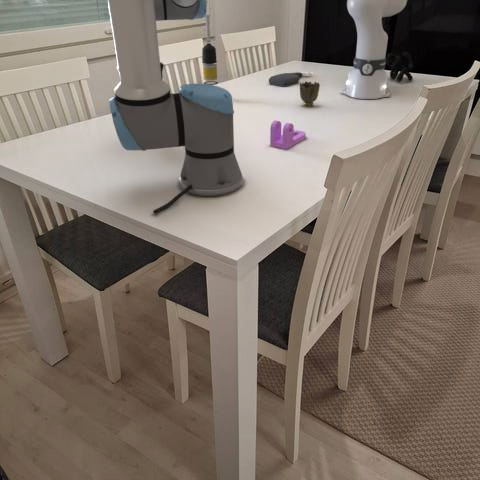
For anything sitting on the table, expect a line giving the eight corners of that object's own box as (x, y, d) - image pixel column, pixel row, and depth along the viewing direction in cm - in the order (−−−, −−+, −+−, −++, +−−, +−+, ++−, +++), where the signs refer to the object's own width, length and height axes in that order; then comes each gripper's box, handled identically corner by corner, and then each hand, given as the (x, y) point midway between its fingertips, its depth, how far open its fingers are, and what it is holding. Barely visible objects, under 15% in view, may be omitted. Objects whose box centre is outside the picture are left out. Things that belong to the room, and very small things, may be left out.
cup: (295, 106, 166) (296, 84, 162) (302, 102, 172) (303, 80, 168) (314, 109, 163) (316, 86, 159) (321, 104, 169) (322, 82, 165)
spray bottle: (266, 83, 198) (296, 74, 214) (286, 87, 192) (316, 77, 208) (266, 76, 197) (297, 68, 213) (287, 80, 191) (316, 71, 207)
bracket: (286, 149, 129) (287, 125, 125) (270, 145, 132) (270, 122, 128) (308, 136, 138) (309, 114, 134) (292, 133, 141) (294, 111, 137)
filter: (220, 99, 177) (217, 15, 161) (206, 100, 176) (202, 16, 160) (215, 96, 182) (212, 14, 166) (202, 97, 180) (197, 14, 164)
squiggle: (400, 92, 202) (376, 71, 205) (417, 76, 202) (392, 56, 205) (405, 81, 191) (380, 59, 194) (423, 64, 191) (397, 42, 194)
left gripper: (163, 36, 131) (171, 115, 144) (103, 41, 125) (117, 123, 138) (170, 40, 125) (178, 122, 138) (108, 45, 119) (121, 130, 132)
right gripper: (533, -54, 136) (519, -3, 143) (484, -54, 129) (472, 0, 136) (553, -55, 131) (537, -2, 138) (503, -55, 124) (489, 1, 131)
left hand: (147, 122), depth 138 cm, fingers closed on block, 4 cm apart
